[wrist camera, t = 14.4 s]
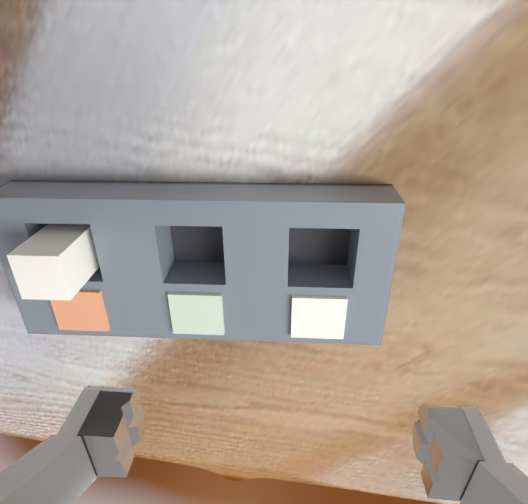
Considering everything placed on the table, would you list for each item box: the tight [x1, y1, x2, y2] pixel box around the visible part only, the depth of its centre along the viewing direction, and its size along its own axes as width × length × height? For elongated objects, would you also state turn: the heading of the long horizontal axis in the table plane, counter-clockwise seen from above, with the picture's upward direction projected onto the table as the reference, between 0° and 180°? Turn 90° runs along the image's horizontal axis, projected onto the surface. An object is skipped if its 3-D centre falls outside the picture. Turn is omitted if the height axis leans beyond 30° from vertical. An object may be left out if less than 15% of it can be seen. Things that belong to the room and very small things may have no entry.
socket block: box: [0, 180, 405, 345], centre depth 36 cm, size 14×34×5 cm, turn 90°
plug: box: [7, 224, 100, 301], centre depth 34 cm, size 4×4×8 cm
